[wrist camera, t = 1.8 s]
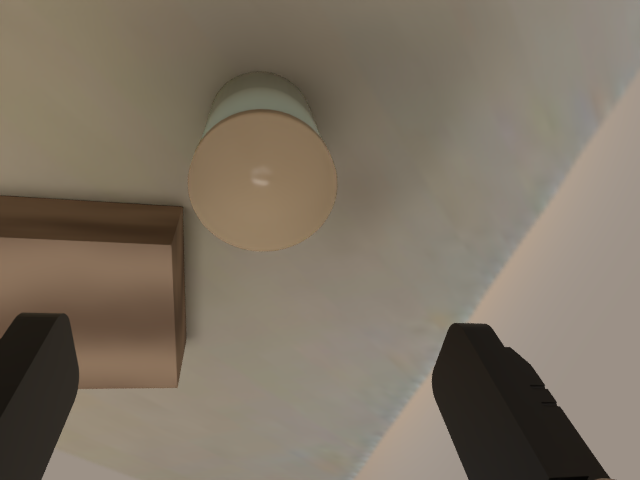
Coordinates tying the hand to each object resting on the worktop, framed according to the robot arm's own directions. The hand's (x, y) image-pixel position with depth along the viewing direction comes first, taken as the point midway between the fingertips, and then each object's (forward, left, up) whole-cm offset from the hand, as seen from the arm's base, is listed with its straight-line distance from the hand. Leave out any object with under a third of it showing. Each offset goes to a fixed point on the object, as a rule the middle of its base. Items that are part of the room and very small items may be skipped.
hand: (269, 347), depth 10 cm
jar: (0, 0, -16) cm, 16 cm away
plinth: (+10, -9, -16) cm, 21 cm away
